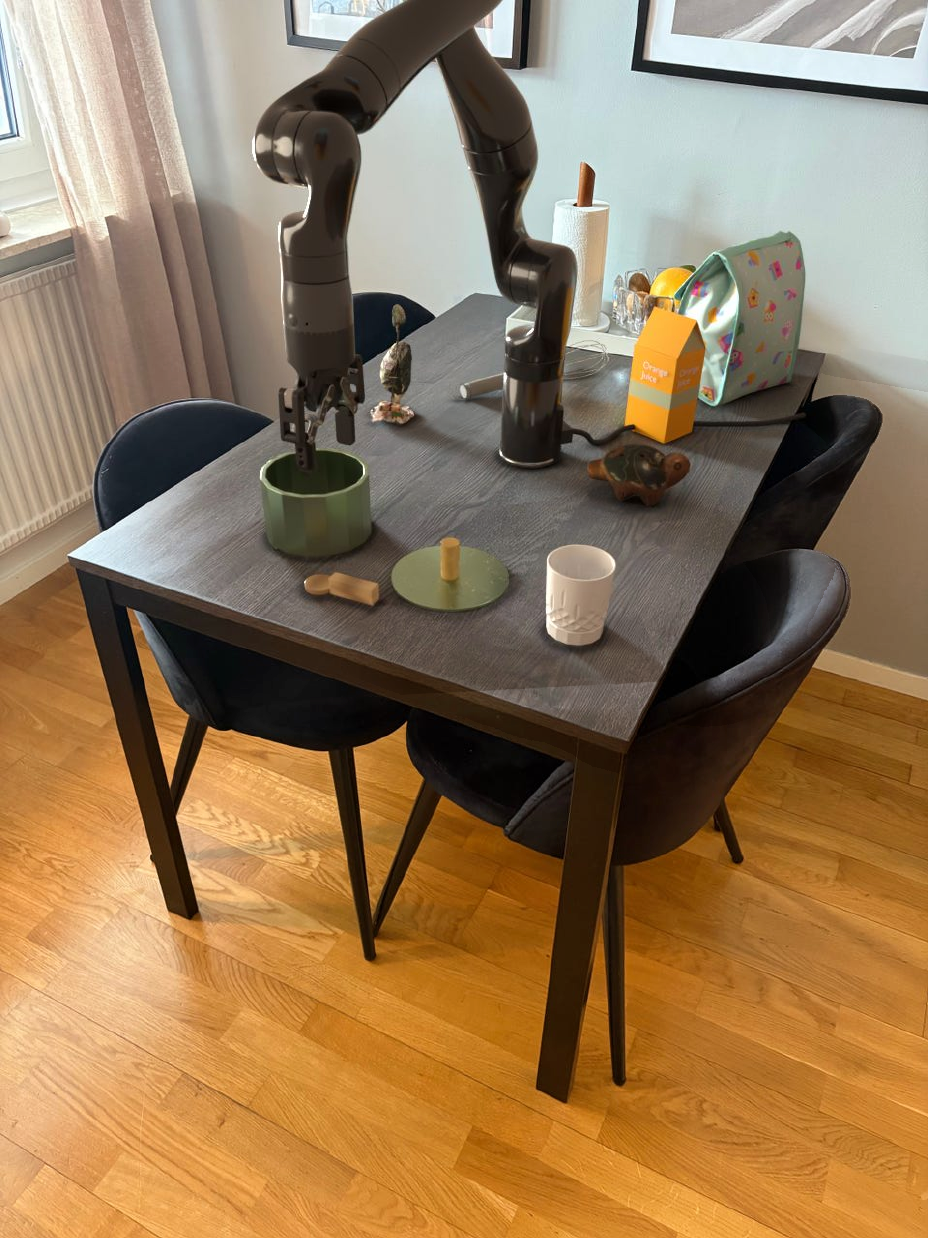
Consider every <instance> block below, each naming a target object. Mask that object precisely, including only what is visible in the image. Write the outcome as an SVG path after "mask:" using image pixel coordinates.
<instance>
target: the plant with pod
mask: <svg viewBox="0 0 928 1238" xmlns="http://www.w3.org/2000/svg"><path fill="white" fill-rule="evenodd" d="M391 315H392V326H393V327H395V330H396V335H397V336H396V338H397V339H396V343H394V344H393V345H392V346H391V347H390V348H389V350H388V351H387V352H386V354H385V355H384V357H383V358H382V361H381V363H380V366H379V368H380V371H379V377H380V384H381V386H382V387H383V390H385V391H387V392H389V393H390V394H391V395H390V401H388V400H383V401H380V402H379V403H378V405H377V404H376V405H375V406H374V407H373V408H372V409H371V410H370V416H371V420H370V421H371V422H373V423H375V422H380V421H382V420H383V421H384V422H386V423H387V422H388V423H389V424H391V423H392V424H396V425H398V426H401V425H404V424H406V423H407V422H409V420H410V419H411V418H413V417H414V415H415V414H414V411H413V410H412V409H411V406H409V405H404V406H403V405H402V404H401V400H402V399H403V397H404V396H405V394H406V393H407V391H408V389H409V387H410V385H411V379H412V376H411V375H412V361H413V355H412V347H411V345H410V344H409V343H407V342H406V341H399V340H400V331H401V330H400V329H401V327H403V326H404V325H405V323H406V318H407V317H406V312H405V310H404V308H403V307H402V306H401V305H400V304H395V305H394V306H393V307H392V312H391ZM410 342H411V343H413V340H410Z"/></svg>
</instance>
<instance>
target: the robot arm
mask: <svg viewBox="0 0 928 1238" xmlns="http://www.w3.org/2000/svg"><path fill="white" fill-rule="evenodd" d="M503 1H504V0H403V1H402V2H400V3H398V4H396V5H395V6H393V7H391V8H389V9H388V10H386V11H384V12H382V13H380V14H379V15H377V16H376V17H374V18H373V19H370V20H369V21H368V22H367V23H365V24H364V25H363V26H362V27H360V28H359V29H358V30H357V31H356V32H355V33H354V34H353V35H352V36H351V37H350V38H348V40H347V41H346V42H345V44H344V45H343V46H342V47H341V48H340V49H339V50H338V51H337V53H336V54H335V55H334V56H333V57H332V58H331V59H330V61H329V62H328V63H327V64H326V66H325V67H324V68H323V69H321V71H319V72H318V73H315V74H313V75H312V76H310V77H308V78H306V79H304V80H303V81H302V82H300V83H298V84H297V85H296V86H294V87H293V88H291V89H290V90H288V91H286V92H285V93H284V94H282V95H280V96H279V97H278V98H277V99H275V100H274V101H273V102H272V103H270V105H269V106H268V107H267V108H266V109H265V110H264V112H263V113H262V114H261V116H260V118H259V120H258V121H257V124H256V126H255V130H254V134H253V138H252V154H253V157H254V161H255V164H256V165H257V168H258V169H259V170H260V172H261V174H262V175H264V176H265V177H266V178H267V179H269V180H270V181H272V182H275V183H277V184H279V185H283V186H289V187H296V188H301V189H308V190H309V197H308V202H307V206H306V209H305V210H299V211H294V212H291V213H288V214H286V215H284V216H283V217H282V218H281V220H280V221H279V225H278V234H277V235H278V236H277V237H278V250H279V263H280V271H281V272H280V273H281V287H280V288H281V289H280V290H281V291H280V300H281V301H280V302H281V312H282V313H281V314H282V325H283V339H284V349H285V359H286V361H287V363H288V364H289V365H290V366H291V367H292V368H293V369H294V370H295V372H296V377H295V384H294V386H293V387H291V388H288V387H283V386H282V387H280V388H279V389H278V392H277V394H278V396H277V397H278V411H279V427H280V428H279V430H280V432H279V433H280V440H281V441H282V442H286V443H290V444H294V449H295V450H294V451H295V452H296V460H297V461H296V464H297V467H298V470H299V471H301V472H305V473H309V474H313V473H314V472H316V471H317V457H316V448H317V444H316V437H317V433H318V429H319V427H320V426H323V424H324V422H325V419H326V415H327V414H328V413H329V411H330V410H331V409H332V408H334V409H335V411H336V412H335V413H334V419H335V420H334V421H335V434H336V435H335V438H336V442H337V443H338V444H342V445H345V446H352V445H353V444H355V443H356V422H355V415H356V414H357V412H358V409H359V406H358V405H359V404H361V405H362V404H364V403H365V400H366V390H365V377H364V376H365V375H364V363H363V356H362V354H356V341H355V340H356V339H355V319H354V318H355V316H354V315H355V314H354V298H353V290H352V286H351V277H350V259H349V258H350V257H349V241H348V237H349V236H348V235H349V229H350V225H351V218H352V214H353V208H354V204H355V198H356V194H357V189H358V184H359V181H360V175H361V171H362V159H363V158H362V157H363V155H362V154H363V153H362V146H361V142H360V138H359V136H360V135H364V134H366V133H368V132H370V131H371V130H372V129H373V128H375V126H377V125H378V123H380V121H381V120H382V119H383V117H385V115H386V114H387V112H388V111H389V110H390V109H391V108H392V107H393V105H394V104H395V103H396V101H397V100H398V99H399V98H400V97H401V95H402V94H403V93H404V91H405V90H406V89H407V88H408V87H409V85H410V84H412V82H413V81H414V80H415V79H416V78H417V77H418V76H419V74H421V72H422V71H423V70H425V69H426V68H427V67H428V66H429V65H430V64H432V62H433V61H435V63H436V65H437V68H438V71H439V73H440V76H441V79H442V83H443V86H444V89H445V92H446V95H447V98H448V101H449V104H450V107H451V110H452V114H453V117H454V120H455V125H456V128H457V132H458V136H459V140H460V145H461V147H462V151H463V154H464V158H465V160H466V164H467V167H468V170H469V173H470V177H471V180H472V183H473V186H474V189H475V192H476V196H477V199H478V204H479V209H480V212H481V215H482V220H483V224H484V228H485V233H486V238H487V243H488V249H489V255H490V261H491V266H492V271H493V275H494V276H493V277H494V280H495V284H496V286H497V289H498V292H499V294H500V295H501V297H502V298H504V300H506V301H508V302H510V303H512V304H515V305H519V306H523V307H527V308H531V309H535V315H534V321H533V323H526V324H522V325H518V326H515V327H513V328H511V329H509V331H507V333H506V335H505V338H504V349H503V351H504V352H503V372H502V373H503V389H502V397H501V421H500V441H499V450H498V451H499V453H498V454H499V455H498V456H499V458H500V460H502V461H503V462H504V463H506V464H508V465H510V466H513V467H516V468H523V469H541V468H544V467H548V466H551V465H553V464H560V462H561V452H562V451H561V449H562V445H568V444H573V440H574V435H576V436H581V437H583V438H584V439H585V440H586V441H587V443H588V444H589V445H592V446H595V447H597V446H602V445H604V444H606V443H608V442H610V441H611V440H613V439H614V438H616V437H617V436H619V435H620V434H623V433H625V432H628V431H633V430H634V429H635V425H634V424H631V425H626V426H625V425H623V426H621V427H618V428H616V429H615V430H613V431H612V432H610V433H609V434H607V435H606V436H605V437H603V438H600V439H595V438H593V437H592V435H591V434H590V433H589V432H587V431H586V430H582V429H580V428H575V427H572V426H571V425H569V424H568V423H567V422H566V421H565V420H564V414H565V406H564V404H563V402H562V401H563V399H562V398H563V386H564V385H563V384H564V379H563V378H564V375H563V374H565V373H564V372H565V366H564V365H565V362H566V355H565V354H566V352H567V351H566V350H567V348H566V347H567V344H568V340H569V337H570V333H571V330H572V321H573V312H574V307H575V299H576V291H577V284H578V271H579V269H578V267H579V266H578V260H577V256H576V253H575V251H574V250H573V249H572V248H571V247H570V246H567V245H564V244H560V243H556V242H551V241H545V240H542V239H535V238H532V237H531V236H530V235H529V233H528V231H527V228H526V224H525V221H524V220H525V219H524V214H523V205H524V201H525V199H526V197H527V194H528V192H529V190H530V188H531V185H532V183H533V180H534V178H535V175H536V172H537V169H538V164H539V147H538V143H537V142H538V141H537V138H536V134H535V129H534V125H533V120H532V116H531V112H530V111H531V110H530V109H529V106H528V103H527V101H526V99H525V97H524V95H523V94H522V93H521V91H520V89H519V88H518V86H517V85H516V83H515V82H514V81H513V79H512V78H511V77H510V76H509V74H508V73H507V72H506V71H505V70H504V69H503V67H502V66H501V65H500V64H499V63H498V61H497V60H496V59H495V58H494V57H493V55H492V54H491V53H490V52H489V50H488V49H487V48H486V46H485V45H484V43H483V42H482V40H481V38H480V37H479V34H478V33H477V29H476V28H475V26H476V25H477V24H478V23H479V22H481V21H482V20H483V19H484V18H486V17H487V16H489V15H490V14H491V13H492V12H493V11H494V10H496V9H497V8H498V7H499V6H500V4H501V3H503ZM351 385H354V387H355V391H353V390H352V389H351ZM305 408H306V409H307V411H309V412H311V414H310V413H307V412H305ZM312 412H313V414H312ZM806 417H807V414H806V412H799V413H796V414H792V415H788V416H784V417H783V416H782V417H779V418H772V419H765V420H764V419H763V420H762V419H761V420H723V421H722V420H694V422H693V427H701V428H702V427H706V428H708V427H709V428H752V427H765V426H766V427H767V426H775V425H780V424H785V423H789V422H793V421H797V420H802V419H805V418H806ZM306 423H308V424H309V425H308V428H307V431H306ZM291 424H292V427H291Z"/></svg>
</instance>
